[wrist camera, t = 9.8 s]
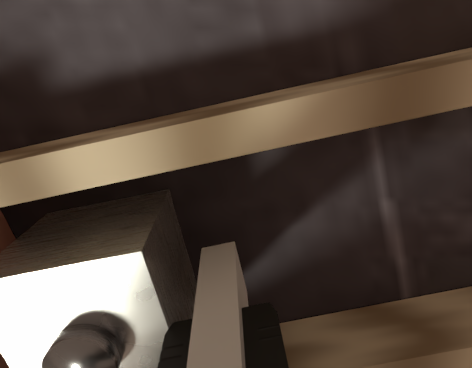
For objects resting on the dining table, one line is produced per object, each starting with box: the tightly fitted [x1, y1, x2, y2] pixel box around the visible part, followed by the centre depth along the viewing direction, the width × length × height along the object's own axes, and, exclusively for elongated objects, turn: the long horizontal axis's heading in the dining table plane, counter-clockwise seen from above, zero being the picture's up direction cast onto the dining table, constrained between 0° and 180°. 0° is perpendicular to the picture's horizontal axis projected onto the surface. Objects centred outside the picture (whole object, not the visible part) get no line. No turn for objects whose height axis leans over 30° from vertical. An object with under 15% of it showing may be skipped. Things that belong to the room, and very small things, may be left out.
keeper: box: [0, 189, 197, 368], centre depth 14 cm, size 6×7×6 cm
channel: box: [0, 47, 472, 368], centre depth 13 cm, size 25×14×6 cm, turn 102°
